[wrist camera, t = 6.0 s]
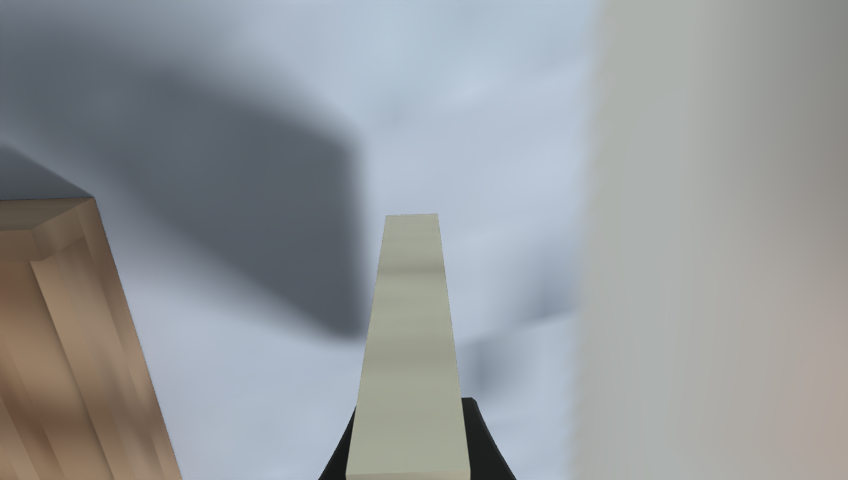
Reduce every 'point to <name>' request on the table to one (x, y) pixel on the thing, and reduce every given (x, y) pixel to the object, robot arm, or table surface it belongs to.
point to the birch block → (409, 365)
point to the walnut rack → (71, 354)
